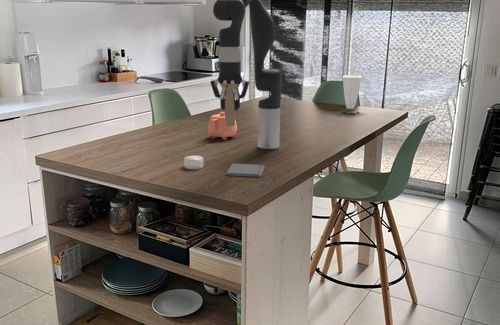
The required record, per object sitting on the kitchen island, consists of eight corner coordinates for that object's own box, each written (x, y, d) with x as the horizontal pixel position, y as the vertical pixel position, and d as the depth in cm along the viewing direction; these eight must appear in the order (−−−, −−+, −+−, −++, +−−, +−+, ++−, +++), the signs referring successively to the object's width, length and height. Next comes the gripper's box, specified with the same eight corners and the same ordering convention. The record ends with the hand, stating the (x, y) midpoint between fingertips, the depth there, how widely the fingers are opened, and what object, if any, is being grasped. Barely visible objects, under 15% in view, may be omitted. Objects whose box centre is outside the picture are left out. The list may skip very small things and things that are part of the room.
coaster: (232, 166, 192) (232, 163, 192) (264, 167, 190) (264, 165, 190) (226, 175, 180) (226, 172, 180) (260, 177, 179) (260, 174, 179)
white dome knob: (187, 164, 195) (186, 155, 194) (205, 165, 194) (205, 156, 193) (182, 169, 188) (182, 159, 187) (200, 170, 187) (200, 160, 186)
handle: (224, 123, 185) (224, 81, 180) (241, 125, 182) (241, 82, 178) (219, 126, 180) (218, 83, 176) (236, 127, 178) (235, 84, 174)
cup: (355, 114, 304) (357, 77, 298) (337, 112, 310) (339, 76, 304) (362, 111, 313) (364, 76, 307) (344, 109, 319) (346, 74, 313)
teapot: (223, 142, 229) (222, 116, 226) (200, 139, 235) (200, 113, 232) (244, 134, 246) (244, 109, 243) (223, 132, 252) (223, 107, 249)
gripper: (252, 59, 177) (252, 108, 182) (212, 58, 180) (213, 107, 184) (248, 61, 170) (248, 112, 175) (206, 60, 172) (207, 111, 177)
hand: (230, 109), depth 180 cm, fingers closed on handle, 4 cm apart
